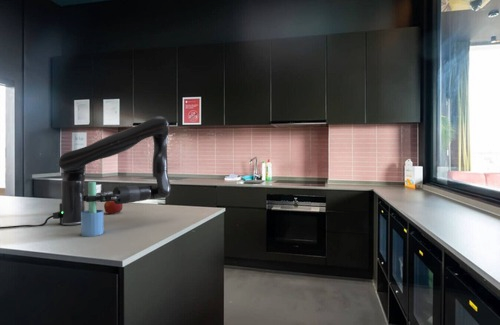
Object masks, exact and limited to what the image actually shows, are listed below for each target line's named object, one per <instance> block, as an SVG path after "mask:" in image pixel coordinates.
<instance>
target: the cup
mask: <svg viewBox="0 0 500 325" xmlns="http://www.w3.org/2000/svg"><path fill="white" fill-rule="evenodd" d="M104 230H105V229H104V210H103V209H96V213H89V209H88V210H85V211H83V212H81V224H80V236H82V237H97V236H100V235H103V234H104V232H105V231H104Z"/></svg>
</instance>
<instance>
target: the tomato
mask: <svg viewBox="0 0 500 325" xmlns="http://www.w3.org/2000/svg"><path fill="white" fill-rule="evenodd" d="M103 206H104V207H103V208H104V212H105V213H106V214H118V213H121V211H122V210H123V207H124V206H123V204H116V203H115V202H114V201H111V202H110V201H107V202H104V203H103Z"/></svg>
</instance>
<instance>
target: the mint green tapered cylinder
mask: <svg viewBox="0 0 500 325" xmlns="http://www.w3.org/2000/svg"><path fill="white" fill-rule="evenodd" d="M87 190H88V191H87V195H88V196H96V193H97V182H96V181H87ZM87 203H88V210H89V213H96V210H97V200H96V201H93V202H87Z"/></svg>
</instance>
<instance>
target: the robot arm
mask: <svg viewBox="0 0 500 325" xmlns="http://www.w3.org/2000/svg"><path fill="white" fill-rule="evenodd" d="M170 130H171V128H170V123H169V120H168V119H167V118H166V117H165V116H162V115H156V116H153V117H151V118H149V119H147V120H145V121H144V122H141V123H139V124H138V125H135V126H132V127H129V128H126V129H124V130H121V131H119V132H115V133H112V134H109V135H108V136H106V137H104V138H101V139H99V140H97V141H94V142H93V143H91V144H89V145H87V146H83V147H81V148H78V149H74V150H70V151H65V152H64V153H62V154H61V155H60V157H59V158H58V162H57V163H58V167H59V168H60V169H61V170H62V171H63V172H62V173H63V174H62V179H61V182H60V188H61V189H60V191H61V192H60V193H61V196H60V197H61V202H60V203H59V211H55V212H52V215H50V216H48V217H47V218H45V220H44V222H43V223H41V224H19V225H18V224H17V225H7V226H0V230H2V229H3V230H4V229H15V228H26V227H27V228H31V227H32V228H35V227H42V226H45V225H46V224H47V223H48V221H49V220H50V219H54V220H59V225H62V226H77V225H81V212H83V211H86V210H85V208H86V207H85V205H86V204H85V202H86V203H88V202H93V201H96V202H97V203H98V202H100V203H105V202H107V201H110V202H111V201H114V202H115V203H116V204H122V205H123V204H124V205H125V204H132V203H136V202H143V201H147V200H148V201H149V200H159V199H166V198H168V197H169V196H170V194H171V191H172V186H171V182H170V179H169V175H168V169H169V168H168V140H169V132H170ZM151 137H152V139H153V155H152V165H151V166H152V167H151V168H152V178H153V179H155V180H156V183H155V184H149V185H148V184H147V185H146V184H140V185H121V186H114V188H113V189H112V190H113V191H110V190H108V191H100V192H96V196H88V194H85V182H86V166H87V165H88V164H91V163H93V162H96V161H99V160H102V159H106V158H110V157H113V156H117V155H119V154H121V153H123V152H126V151H128V150H130V149H131V148H133V147H135V146H136V145H137V144H139V143H140V142H141V141H143V140H145V139H148V138H151Z"/></svg>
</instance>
